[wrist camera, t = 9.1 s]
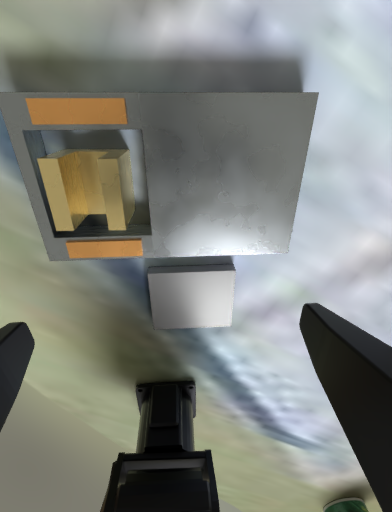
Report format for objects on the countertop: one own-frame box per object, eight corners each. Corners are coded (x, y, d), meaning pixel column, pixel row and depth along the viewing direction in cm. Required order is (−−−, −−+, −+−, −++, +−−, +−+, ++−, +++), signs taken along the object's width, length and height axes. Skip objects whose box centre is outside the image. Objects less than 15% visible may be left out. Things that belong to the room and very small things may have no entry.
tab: (229, 318, 24) (230, 326, 24) (154, 321, 24) (153, 329, 23) (233, 264, 21) (235, 270, 21) (148, 267, 21) (147, 273, 20)
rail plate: (278, 241, 21) (288, 254, 19) (61, 247, 20) (48, 262, 18) (303, 94, 16) (320, 92, 14) (16, 94, 15) (-8, 91, 13)
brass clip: (135, 208, 19) (125, 230, 15) (79, 208, 19) (56, 231, 15) (129, 149, 17) (116, 158, 13) (66, 148, 17) (36, 158, 13)
